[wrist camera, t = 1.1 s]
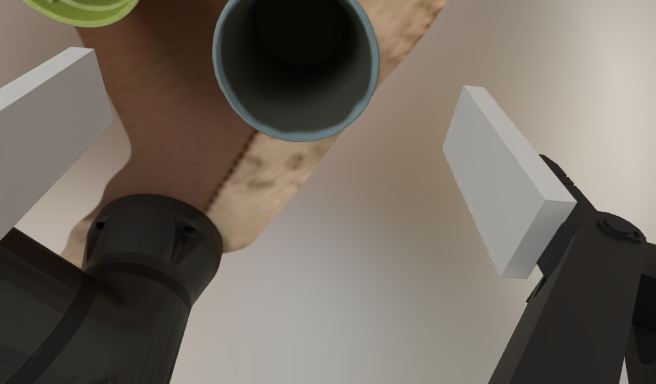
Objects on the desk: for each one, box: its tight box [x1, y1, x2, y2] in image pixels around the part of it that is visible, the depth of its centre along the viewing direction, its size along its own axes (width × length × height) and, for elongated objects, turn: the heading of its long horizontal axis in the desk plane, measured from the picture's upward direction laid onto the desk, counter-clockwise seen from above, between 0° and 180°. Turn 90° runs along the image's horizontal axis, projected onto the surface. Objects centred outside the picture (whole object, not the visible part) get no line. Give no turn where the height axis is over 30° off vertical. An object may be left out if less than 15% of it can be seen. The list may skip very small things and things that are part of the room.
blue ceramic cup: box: [212, 0, 380, 142], centre depth 28 cm, size 10×10×12 cm
